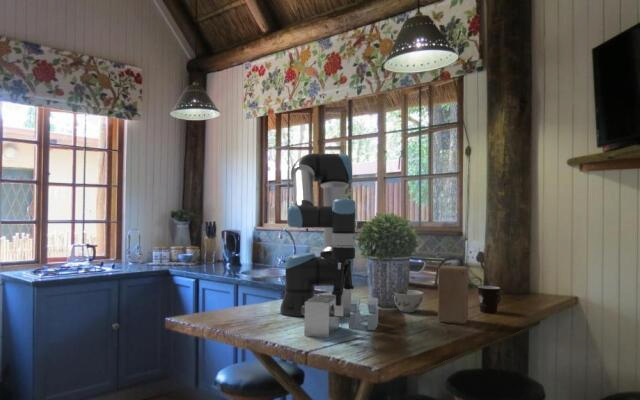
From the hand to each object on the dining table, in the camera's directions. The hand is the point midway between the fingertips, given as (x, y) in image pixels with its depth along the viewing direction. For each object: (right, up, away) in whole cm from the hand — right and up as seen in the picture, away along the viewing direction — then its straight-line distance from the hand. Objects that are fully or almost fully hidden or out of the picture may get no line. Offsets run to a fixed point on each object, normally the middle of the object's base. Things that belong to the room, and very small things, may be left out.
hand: (343, 312), depth 165 cm
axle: (-6, -2, +2) cm, 6 cm away
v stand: (+8, -8, +13) cm, 17 cm away
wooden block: (+42, -9, +24) cm, 49 cm away
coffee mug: (+61, -9, +41) cm, 74 cm away
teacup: (+29, -9, +43) cm, 53 cm away
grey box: (-7, -7, +5) cm, 11 cm away
